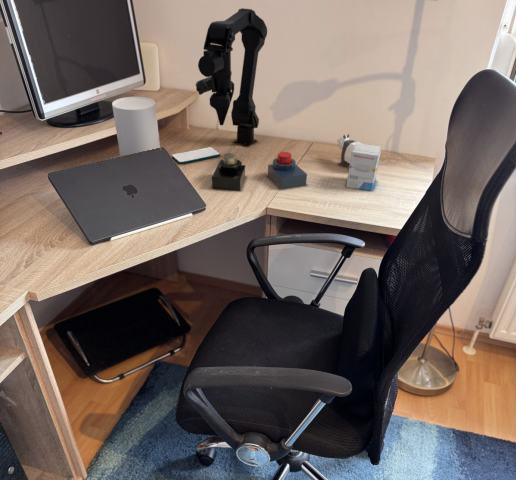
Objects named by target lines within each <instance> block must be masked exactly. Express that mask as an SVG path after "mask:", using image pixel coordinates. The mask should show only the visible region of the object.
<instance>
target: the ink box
mask: <svg viewBox="0 0 516 480" xmlns="http://www.w3.org/2000/svg"><path fill="white" fill-rule="evenodd" d="M360 143H361V142H359V143H356V145H355V146H354V148H353V150H352V152H351V159H350V164H349V166H348V174H347V180H346V185H345V186H346V188H352V189H357V190H364V191H370V192H371V191H373V189H374V187H375V183H376V181H377V174H378V169H379V164H380V158H381V152H382V146H380V145H372V144H365V143H362V144H360Z"/></svg>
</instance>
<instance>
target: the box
mask: <svg viewBox="0 0 516 480" xmlns="http://www.w3.org/2000/svg"><path fill="white" fill-rule="evenodd" d="M296 163H297V162H296V160H295V159H294V158H291V163H290V164H287V165H284V164H279V163H278V157H276V158H274V159H273V160H272V163H271V164H267V178H269V179H270V180H271V181H272V182H273V183H274V184H275V185H276V187H278V188H279V189H280V190H288V189H293V188H299V187H300V188H301V187H305V186H307V181H308V180H307V179H308V173H306V172H305V171H304V170H303V169H302V168H300V166H299V165H297V164H296Z"/></svg>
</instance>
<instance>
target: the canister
mask: <svg viewBox="0 0 516 480" xmlns="http://www.w3.org/2000/svg"><path fill="white" fill-rule="evenodd" d="M111 106H112V107H111V108H112V114H113V119H114V125H115V132H116V137H117V144H118V145H117V146H118V151H119V157H120V156H123V155H129V154H133V153H138V152H142V151H147V150H152V149H156V148H160V149H161V143H160V133H159V123H158V116H157V105H156V101H155V100H154V99H152V98H150V97H145V96H126V97H121V98H117V99H115V100H113V101H112V102H111Z"/></svg>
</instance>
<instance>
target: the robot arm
mask: <svg viewBox="0 0 516 480" xmlns="http://www.w3.org/2000/svg"><path fill="white" fill-rule="evenodd" d="M238 33H240V34H241V38H240V39H241V40H240V41H241V43H242V46H243V48H244V54H243V61H242V70H241V77H240V78H241V79H240V86H239V93H238V97H237V98H236V99H234V100H233V101H232V99H233V96H234V93H235V83H234V82H233V80H232V76H233V74H232V73H233V72H232V51H234V48H233V47H232V46H233V44H234V42H235V41H236V35H237V34H238ZM267 36H268V27H267V25H266V23H265V21H264V20H263V19H262V18H261V17H260V16H259V15H258V14H256V12H255V10H253V9H252V8H239V9H238V11H237V12H234V14H232V15H231V16H229V17H228V18H226V19H225V20H216V21H212V22H211V23H210V24H209V26H208V27H207V31H206V35H205V38H204V39H205V40H204V43H203V52H202V53H203V55H202V56H201V57H200V59H199V60H198V62H197V67H198V70H199V72H200V74H201V75H202V76H203V77H205V78H201V79H200V80H197V81H196V82H195V87H196V89H195V90H196V92H197V93H198V95H200V96H201V95H203V94H205V93H208V92H210V91H211V93H212V94H211V95H210V97H209V106H210V107H211V108H213V109H214V110H215V112H216V115H217V119H218V124H219V126H224V124H225V121H226V118H227V115H228V112H229V109H230V106H231V102H232V109H231V114H230V117H231V122H232V126H236V128H237V129H236V130H237V131H236V139H235V140H233V142H234V143H235V144H238V145H242V146H245V147H249V146H251V145H253V144H255V143H257V141H258V140H257V139H256V138H255V139H254V135H255V129H258V127H259V124H260V118H259V117H258V115H257V112H256V104H255V102H254V101H255V100H254V99H253V96H254V89H255V81H256V80H255V79H256V74H257V65H258V58H259V52H260V51H261V50H262V48H263V47H264V45H265V41H266V38H267Z"/></svg>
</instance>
